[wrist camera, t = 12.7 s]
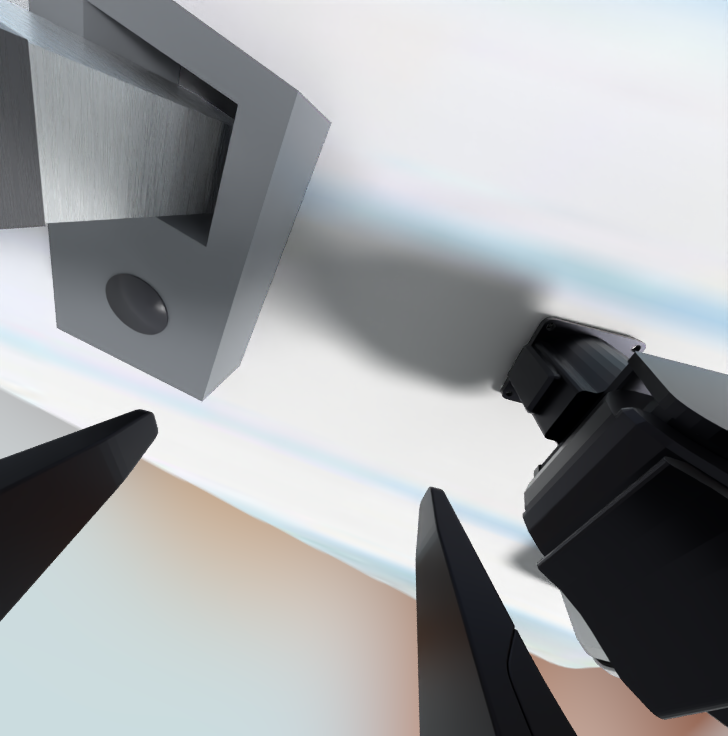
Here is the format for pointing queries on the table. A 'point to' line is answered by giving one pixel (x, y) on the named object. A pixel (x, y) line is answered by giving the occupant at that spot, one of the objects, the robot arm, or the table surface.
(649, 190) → the table surface
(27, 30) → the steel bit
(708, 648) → the robot arm
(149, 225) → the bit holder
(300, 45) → the table surface
